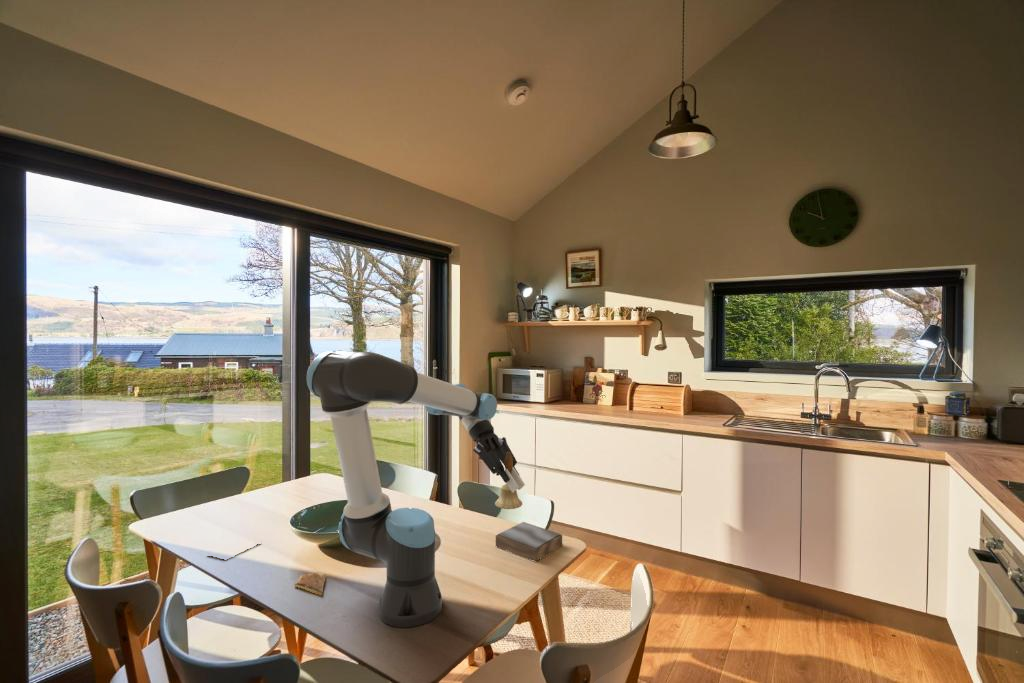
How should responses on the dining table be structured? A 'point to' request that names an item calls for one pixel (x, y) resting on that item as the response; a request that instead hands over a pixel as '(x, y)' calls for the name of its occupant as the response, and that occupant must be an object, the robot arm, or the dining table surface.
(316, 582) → the shard
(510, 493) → the hand bell
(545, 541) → the walnut stand
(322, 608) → the dining table surface
